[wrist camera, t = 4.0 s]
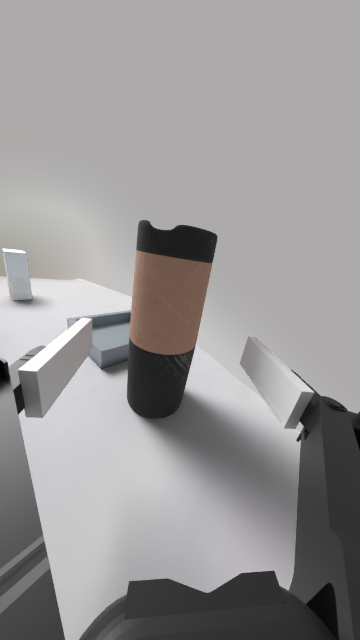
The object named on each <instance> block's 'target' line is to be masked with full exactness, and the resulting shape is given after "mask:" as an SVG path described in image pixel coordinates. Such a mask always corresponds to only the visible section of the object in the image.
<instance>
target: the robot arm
mask: <svg viewBox="0 0 360 640" xmlns="http://www.w3.org/2000/svg"><path fill="white" fill-rule="evenodd" d="M91 351H92V319H90V318H81V319H80V320H78V321H77V322H76V323H75V324H73V325H72V326H71V327H70V328H68V329H67V330H66V331H65V332H64V333H62V334H61V335H60V336H59V337H57V338H56V339H55V340H54V341H53V342H51V343H50V344H49V345H48V346H39V347H37V348H34V349H32V350H31V351H29V352H28V353H27V354H25V356H23V357H21V358H20V359H19V360H17V361H16V362H14V363H13V364H12V365H10V366H9V367H8V363H7V361H6V360H5V359H2V358H0V640H65V637H64V632H63V628H62V623H61V618H60V613H59V608H58V604H57V599H56V594H55V589H54V584H53V579H52V575H51V570H50V565H49V560H48V556H47V551H46V547H45V542H44V537H43V533H42V528H41V523H40V518H39V513H38V508H37V504H36V499H35V494H34V489H33V484H32V480H31V475H30V470H29V465H28V460H27V455H26V451H25V446H24V441H23V436H22V431H21V426H20V422H19V417H18V414H19V413H20V412H21V411H22V410H23V409H25V415H26V417H37V418H43V417H44V416H45V414H46V413H47V411H48V410H49V409H50V407H51V406H52V405H53V403H54V402H55V400H56V399H57V398H58V396H59V395H60V393H61V392H62V391H63V389H64V388H65V387H66V385H67V384H68V382H69V381H70V380H71V378H72V377H73V376H74V374H75V373H76V371H77V370H78V369H79V367H80V366H81V364H82V363H83V362H84V360H85V359H86V358H87V356H88V355H89V353H90V352H91ZM240 364H241V366H242V367H243V369H244V370H245V372H246V373H247V375H248V376H249V378H250V379H251V381H252V382H253V384H254V385H255V387H256V388H257V390H258V391H259V392H260V394H261V395H262V397H263V398H264V400H265V401H266V403H267V404H268V406H269V407H270V409H271V410H272V412H273V413H274V415H275V416H276V418H277V419H278V421H279V422H280V424H281V425H282V426H283V428H287V429H296V426H297V425H298V423H299V421H300V422H301V423H302V424H303V426H304V427H303V430H302V431H301V433H300V435H299V437H298V438H297V440H296V441H298V442H299V440H301V449H300V469H299V489H298V508H297V528H296V548H295V567H294V575H293V579H292V582H291V586H290V589H289V591H288V590H286V589H284V588H282V587H280V586H279V583H278V580H277V578H276V575H275V572H274V571H264V572H251V573H241V574H239V575H238V576H236V577H235V578H233V579H231V580H230V581H228V582H227V583H225V584H223V585H222V586H220V587H218V588H217V589H215V590H214V591H212V592H210V593H204V592H202V591H199V590H196V589H194V588H191V587H188V586H186V585H183V584H181V583H178V582H175V581H173V580H170V579H155V580H142V581H129V585H128V592H127V595H125V596H123V597H121V598H119V599H118V600H116V601H115V602H114V603H112V604H111V605H110V606H108V607H107V608H106V609H105V610H104V611H103V612H102V613H101V614H100V615H99V616H98V617H97V618H96V619H95V620H94V621H93V622H92V624H91V625H90V626H89V627H88V628H87V630H86V631H85V632H84V633H83V635H82V636H81V638H80V639H79V640H360V412H359V413H358V414H356V413H353V412H349V411H347V409H346V408H345V407H344V406H343V405H342V404H340V403H339V402H337V401H336V400H333V399H331V398H329V397H325V396H322V397H321V396H320V395H319V394H318V393H317V392H316V391H315V390H314V389H313V388H312V387H311V386H309V385H308V384H307V383H306V382H305V381H304V380H303V379H301V377H300V376H299V375H298V374H296V373H295V372H293V371H292V370H290V369H289V368H288V367H287V366H286V365H285V364H284V363H283V362H282V361H280V360H279V359H278V358H277V357H276V356H275V355H274V354H273V353H272V352H271V351H270V350H269V349H268V348H267V347H266V346H264V345H263V344H262V343H261V342H260V341H259V340H258V339H257V338H254V337H248V339H247V343H246V346H245V349H244V352H243V355H242V358H241V361H240Z"/></svg>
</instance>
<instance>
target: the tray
mask: <svg viewBox="0 0 360 640" xmlns="http://www.w3.org/2000/svg"><path fill="white" fill-rule="evenodd" d="M81 318H90V319H92V351H91V352H90V353H89V356H90V357H91V358H92V359H93V361H94V362H95V363H96V364H97V365H98V366H99V367H100V368H101V369H102V368H105V367H108V366H111V365H114V364H116V363H119V362H122V361H125V360H128V357H129V332H130V320H131V310H130V311H122V312H115V313H107V314H99V315H91V316H83V317H76V318H68V319H67V321H68V328H70V327H71V326H72V325H73V324H75V323H76V322H77V321H78V320H80V319H81Z"/></svg>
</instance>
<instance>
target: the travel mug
mask: <svg viewBox="0 0 360 640" xmlns="http://www.w3.org/2000/svg"><path fill="white" fill-rule="evenodd" d="M216 243H217V235H216V234H214V233H212V232H210V231H207V230H204V229H200V228H196V227H192V226H187V225H178V226H176V227H175V228H174V229H172V230H160V229H156V228H154V227H153V226H152V225H151V224H150V222H149V221H147V220H142V221H140V222H139V225H138V236H137V250H136V261H135V272H134V284H133V296H132V308H131V320H130V332H129V357H128V384H127V398H128V402H129V405H130V407H131V408H132V409H133V410H134V411H135V412H136V413H138V414H140V415H142V416H145V417H148V418H162V417H166V416H168V415H170V414H172V413H174V412H175V411H176V410H177V409H178V407H179V406H180V403H181V400H182V397H183V393H184V389H185V385H186V381H187V377H188V373H189V369H190V365H191V361H192V357H193V353H194V349H195V345H196V341H197V336H198V330H199V326H200V321H201V316H202V311H203V306H204V302H205V296H206V292H207V287H208V282H209V277H210V272H211V267H212V262H213V257H214V253H215V247H216Z"/></svg>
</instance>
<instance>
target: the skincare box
mask: <svg viewBox="0 0 360 640" xmlns="http://www.w3.org/2000/svg"><path fill="white" fill-rule="evenodd" d="M2 250H3V257H4V263H5V268H6V274H7V280H8V286H9V291H10V295H11V297H12V300H28V299H32V292H31V284H30V277H29V269H28V262H27V254H26V253H25V252H24V251H21V250H12V249H2Z"/></svg>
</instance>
